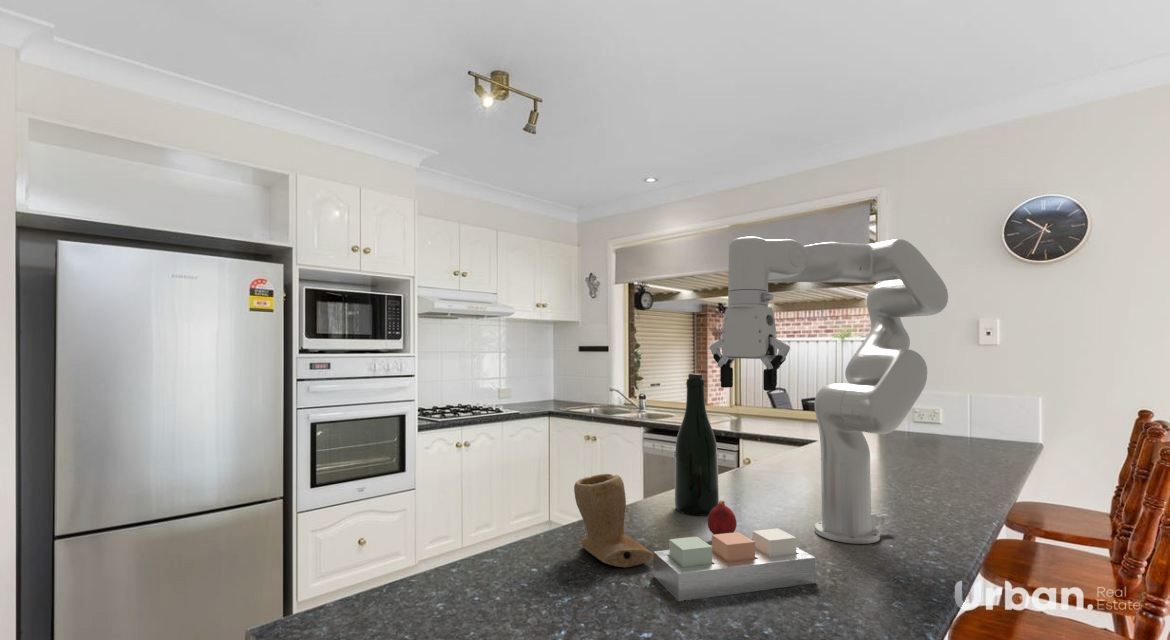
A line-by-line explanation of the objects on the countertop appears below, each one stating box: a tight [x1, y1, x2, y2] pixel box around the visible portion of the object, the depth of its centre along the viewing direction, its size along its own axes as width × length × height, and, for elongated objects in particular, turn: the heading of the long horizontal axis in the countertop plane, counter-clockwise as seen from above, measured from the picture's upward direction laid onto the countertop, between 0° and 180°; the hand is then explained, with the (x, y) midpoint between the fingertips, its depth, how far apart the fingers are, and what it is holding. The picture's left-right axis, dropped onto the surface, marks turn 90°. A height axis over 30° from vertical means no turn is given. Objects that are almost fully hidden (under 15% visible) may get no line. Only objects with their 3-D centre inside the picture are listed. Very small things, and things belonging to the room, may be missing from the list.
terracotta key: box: [711, 531, 755, 563], centre depth 96 cm, size 5×5×3 cm
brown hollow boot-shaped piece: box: [573, 473, 654, 568], centre depth 107 cm, size 15×12×15 cm
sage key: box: [668, 536, 712, 568], centre depth 94 cm, size 5×5×3 cm
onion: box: [707, 500, 737, 535], centre depth 116 cm, size 6×6×8 cm
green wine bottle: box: [674, 373, 720, 516], centre depth 138 cm, size 10×10×33 cm
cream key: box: [752, 527, 797, 558], centre depth 98 cm, size 5×5×3 cm
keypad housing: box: [652, 544, 817, 602], centre depth 96 cm, size 25×10×4 cm, turn 106°
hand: (747, 388), depth 110 cm, fingers open, 9 cm apart
